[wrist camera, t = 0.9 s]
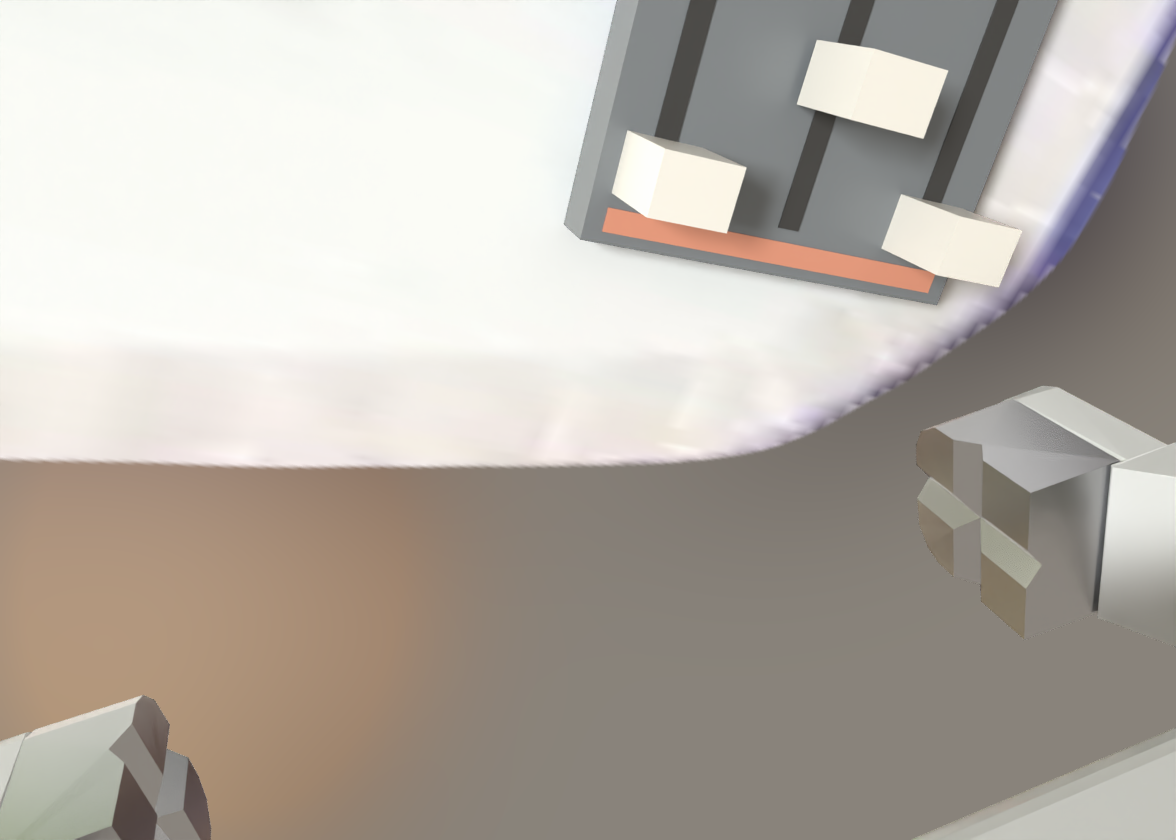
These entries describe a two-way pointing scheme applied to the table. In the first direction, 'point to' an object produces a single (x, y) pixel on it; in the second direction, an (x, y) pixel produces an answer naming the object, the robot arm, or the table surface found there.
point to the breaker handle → (872, 87)
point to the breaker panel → (802, 141)
